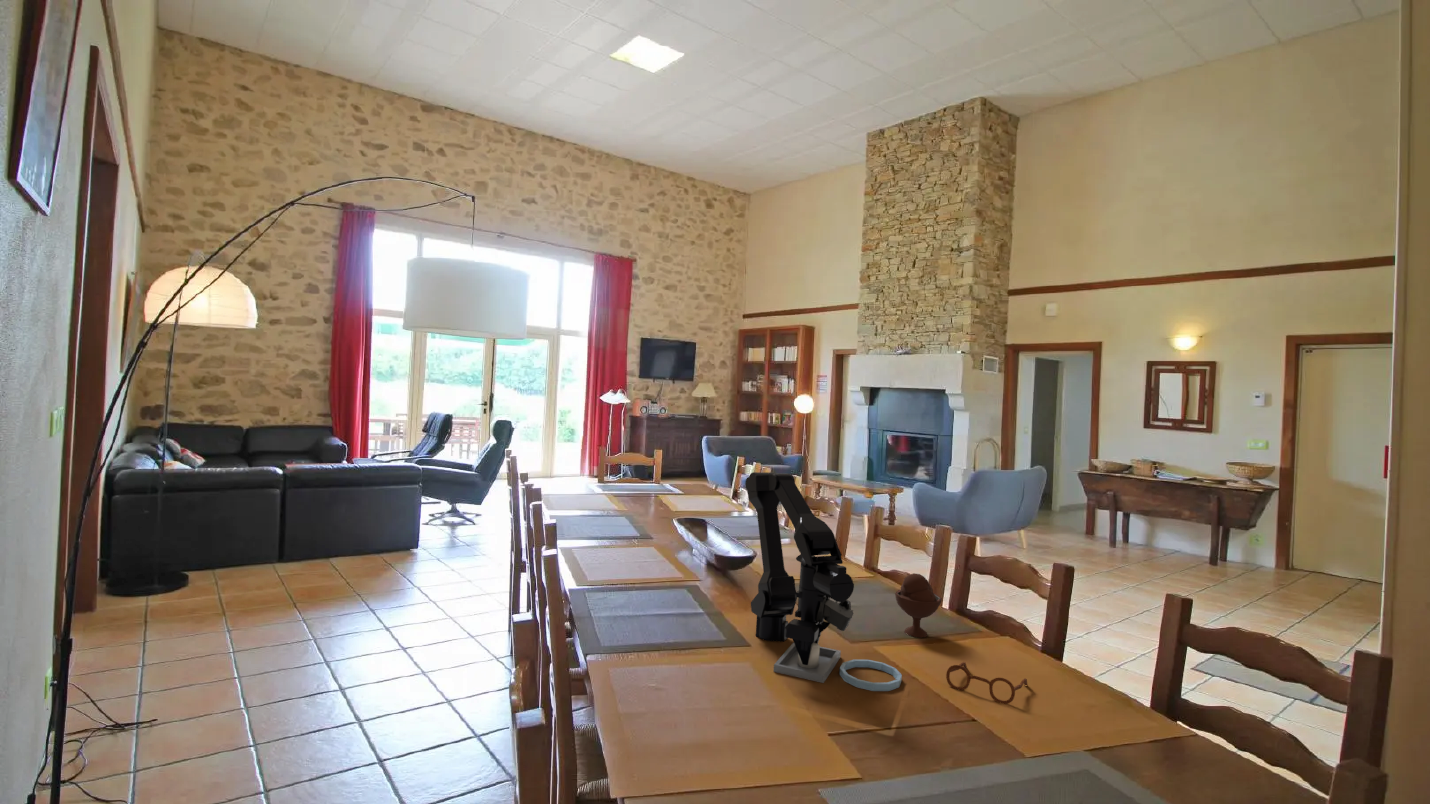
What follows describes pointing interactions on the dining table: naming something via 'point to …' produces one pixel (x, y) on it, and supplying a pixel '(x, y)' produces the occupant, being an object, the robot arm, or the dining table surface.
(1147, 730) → the dining table surface
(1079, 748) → the dining table surface
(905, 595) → the ice cream bowl
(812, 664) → the white marshmallow
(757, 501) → the robot arm
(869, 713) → the dining table surface
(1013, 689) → the glasses
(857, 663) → the blue ring
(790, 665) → the parts tray
